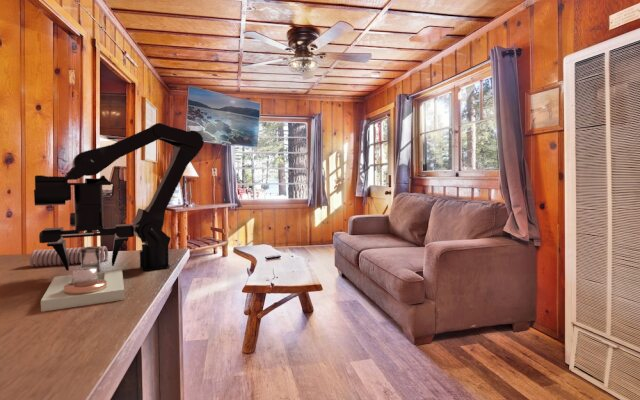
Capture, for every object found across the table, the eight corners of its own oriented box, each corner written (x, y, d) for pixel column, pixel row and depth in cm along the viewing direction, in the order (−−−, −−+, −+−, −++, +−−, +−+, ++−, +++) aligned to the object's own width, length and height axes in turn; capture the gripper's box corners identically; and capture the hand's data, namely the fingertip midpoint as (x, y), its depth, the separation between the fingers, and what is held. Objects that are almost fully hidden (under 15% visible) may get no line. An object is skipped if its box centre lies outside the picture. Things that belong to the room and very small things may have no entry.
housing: (122, 277, 85) (121, 269, 85) (124, 299, 69) (124, 289, 69) (55, 285, 78) (54, 276, 78) (41, 311, 63) (40, 300, 63)
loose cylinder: (101, 273, 89) (100, 245, 88) (100, 277, 85) (99, 248, 85) (81, 275, 87) (80, 247, 86) (80, 279, 83) (79, 250, 83)
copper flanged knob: (106, 282, 74) (106, 263, 74) (106, 291, 68) (105, 270, 68) (66, 287, 71) (65, 267, 70) (61, 297, 65) (61, 275, 64)
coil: (27, 252, 93) (105, 248, 99) (34, 247, 97) (108, 243, 104) (28, 269, 94) (106, 264, 100) (35, 264, 98) (109, 259, 104)
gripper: (131, 201, 96) (132, 257, 97) (45, 203, 87) (48, 265, 88) (133, 203, 87) (134, 266, 88) (37, 206, 77) (40, 276, 78)
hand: (90, 267), depth 86 cm, fingers open, 9 cm apart
